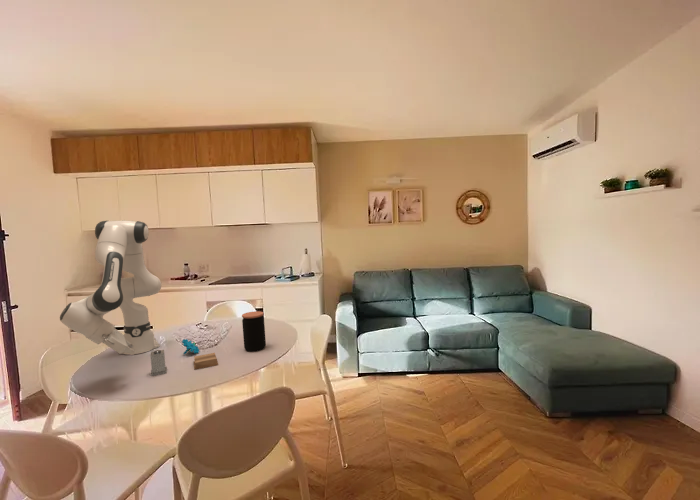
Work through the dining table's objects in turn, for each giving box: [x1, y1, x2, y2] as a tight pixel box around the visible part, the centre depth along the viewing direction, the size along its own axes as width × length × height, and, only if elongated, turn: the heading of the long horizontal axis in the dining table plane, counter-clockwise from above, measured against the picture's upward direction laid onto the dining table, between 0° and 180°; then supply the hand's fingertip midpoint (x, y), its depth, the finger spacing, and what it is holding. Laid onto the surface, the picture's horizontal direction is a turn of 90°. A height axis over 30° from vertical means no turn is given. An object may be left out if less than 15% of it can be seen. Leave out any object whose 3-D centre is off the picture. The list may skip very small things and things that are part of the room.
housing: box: [150, 349, 168, 377], centre depth 156 cm, size 6×6×10 cm
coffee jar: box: [241, 310, 267, 353], centre depth 180 cm, size 11×11×18 cm
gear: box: [181, 338, 200, 355], centre depth 179 cm, size 11×6×10 cm
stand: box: [193, 352, 219, 371], centre depth 163 cm, size 10×10×3 cm
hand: (133, 350), depth 150 cm, fingers open, 8 cm apart
